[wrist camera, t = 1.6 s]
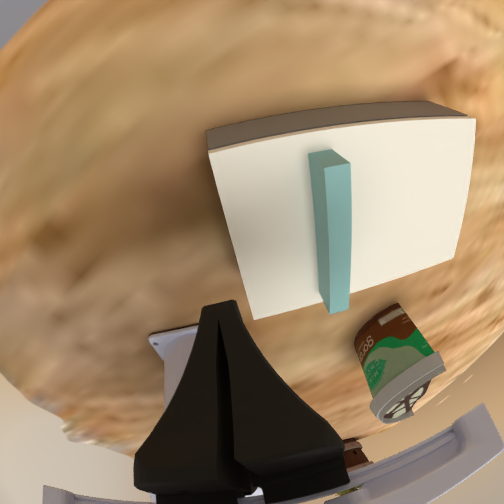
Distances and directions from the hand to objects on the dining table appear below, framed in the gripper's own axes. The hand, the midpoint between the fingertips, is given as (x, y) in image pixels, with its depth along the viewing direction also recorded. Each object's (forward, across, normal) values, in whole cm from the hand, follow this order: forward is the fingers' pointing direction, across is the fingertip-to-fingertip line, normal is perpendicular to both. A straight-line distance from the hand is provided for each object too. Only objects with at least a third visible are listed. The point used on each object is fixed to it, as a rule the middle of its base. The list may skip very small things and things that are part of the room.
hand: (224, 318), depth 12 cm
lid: (+5, -9, 0) cm, 10 cm away
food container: (+10, -13, +20) cm, 26 cm away
